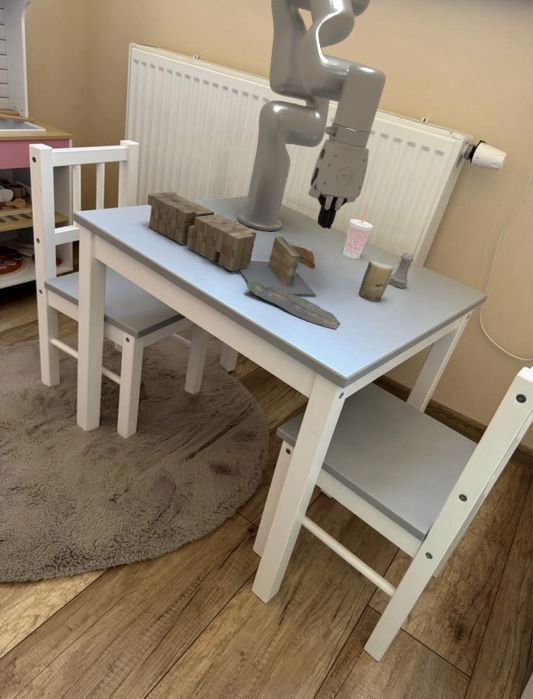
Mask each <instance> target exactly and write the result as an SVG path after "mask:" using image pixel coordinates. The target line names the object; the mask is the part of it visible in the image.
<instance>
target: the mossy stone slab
mask: <svg viewBox="0 0 533 699" xmlns="http://www.w3.org/2000/svg"><path fill="white" fill-rule="evenodd" d="M245 285H246V288H247V289H248V290H249V291H251V292H252V293H253V292H254V293H253V295H254V296H257V297H260V298H262V299H263V300H265V301H268V302H270V303H271V304H272V303H273V304H274V305H277V306H278V307H280V308H282V310H285V311H286V312H288V313H290V314H291V315H294V316H296V317H298V318H301V319H303V320H306V321H307V322H311V323H313V324H317V325H321V326H323V327H325V328H326V327H327V328H330V329H332V330H335V329H337V327H338V326H340V325H341V323H340V321H339V320H338V318H337V317H336V316H335V315H334V314H333V313H332V312H330V311H327V310H325V309H323V308H322V307H321V306H319V305H317V304H315V303H314V302H312V301H310V300H307V299H305V298H304V297H301V296H297V295H294V294H292V293H291V292H288V291H287V290H283V289H281V288H277V287H264V286H263V285H262V284H260V283H257V282H255V281H250V282H249V283H245Z"/></svg>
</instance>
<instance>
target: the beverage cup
mask: <svg viewBox="0 0 533 699" xmlns="http://www.w3.org/2000/svg"><path fill="white" fill-rule="evenodd" d="M368 208H369V204H366V205H365V209H364V211H363V213H362V214H363V215H362V218H361V219H357V218H356V219H355V218H351V219H350V220H349V228H348V231H347V235H346V239H345V244H344V248H343V251H342V254H343V256H345V257H347V258H350V259H353V260H354V259H355V260H357V259H360V257H361V254H362V253H363V250H364V247H365V245H366V242H367V241H368V238H369V235H370V232H371V231H373V230H372V229H373V228H374V226H373V224H371V223H369V222H367V221H365V217H366V213H367V210H368Z"/></svg>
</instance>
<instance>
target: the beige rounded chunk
mask: <svg viewBox="0 0 533 699" xmlns="http://www.w3.org/2000/svg"><path fill="white" fill-rule="evenodd" d="M393 271H394V267H393V266H392V265H389V264H385V263H381V262H378V261H377V262H376V261H374V260H373V261H372V260H369V261H368V265H367V267H366V270H365V273H364V275H363V277H362V281H361V284H360V288H359V290H358V291H359V293H358V294H359V296H361V297H363V298H366V299H367V300H369V301H374V302H375V301H381V299H382V297H383V295H384V293H385V292H386V290H387V287H388V285H389V284H390V282H389V280H390V279H391V276H392V273H393Z"/></svg>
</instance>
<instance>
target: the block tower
mask: <svg viewBox="0 0 533 699" xmlns="http://www.w3.org/2000/svg"><path fill="white" fill-rule="evenodd" d="M146 203H147V205H149V206H150V207H151V208H150V215H149V217H150V218H149V222H148V224H149V228H151V229H152V230H153V231H156V232H158V233H159V234H162V235H164V236H166V237H167V238H169V239H171V240H172V241H173V240H174V241H176V242H177V243H178V244H180V245H183V244H186V247H187V248H189V249H190V250H193V251H194V252H196V253H197V254H200V255H201V256H202V257H205V258H207V259H210V260H211V261H218V265H220V266H222V267H225V268H226V269H228V270H229V271H231V272H235V271H238V270H239V269H244V268H247V266H248V263H250V261H252V260H251V259H252V255H253V250H254V246H255V242H256V236H257V231H256V230H254V229H251V228H249V227H248V226H247V225H245V224H241V223H239V222H236V221H235V220H232V219H229V218H228V217H226V216H224V215H221V214H220V213H219V214H218V213H217V214H215V211H214V210H211V209H208V208H206V207H205V206H202V205H201V204H199V203H196V202H194V201H191V200H188V199H187V198H185V197H182V196H179V195H177V192H175V191H165V192H153V193H148V194H147V202H146Z"/></svg>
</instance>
